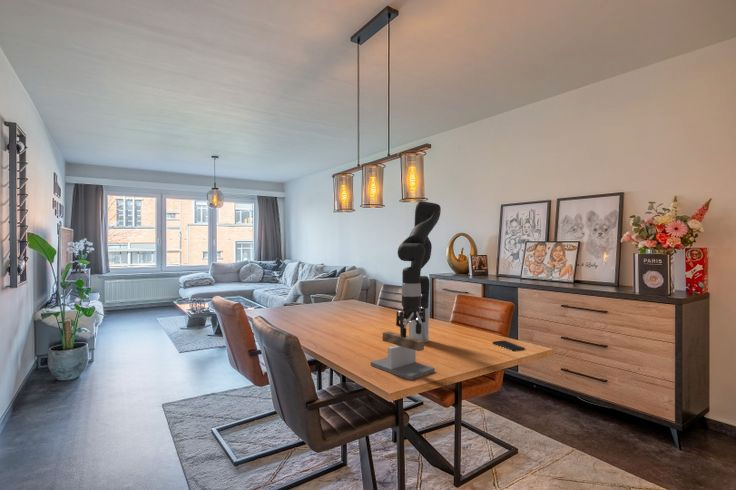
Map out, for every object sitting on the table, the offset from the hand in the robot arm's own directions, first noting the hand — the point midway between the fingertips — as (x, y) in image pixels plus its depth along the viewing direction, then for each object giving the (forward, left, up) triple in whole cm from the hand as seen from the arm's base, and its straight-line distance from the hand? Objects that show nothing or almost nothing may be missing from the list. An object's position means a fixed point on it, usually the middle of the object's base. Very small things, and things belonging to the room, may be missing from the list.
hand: (411, 335), depth 153 cm
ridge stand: (-5, 0, -14) cm, 15 cm away
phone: (+6, +63, -15) cm, 65 cm away
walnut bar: (-5, 0, -5) cm, 7 cm away
